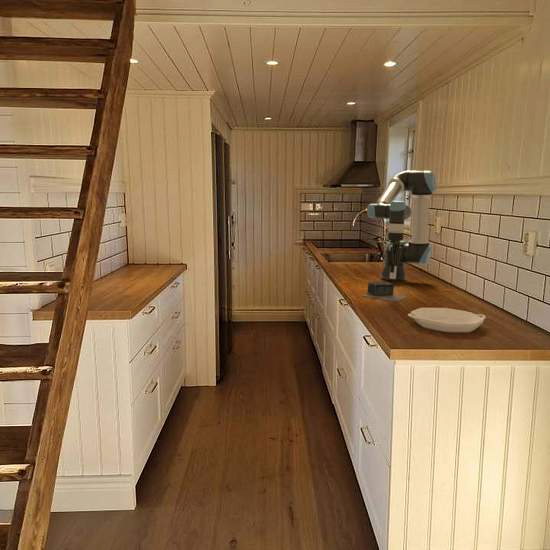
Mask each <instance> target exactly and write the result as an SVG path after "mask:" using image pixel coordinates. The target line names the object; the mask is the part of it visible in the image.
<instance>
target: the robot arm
mask: <svg viewBox="0 0 550 550" xmlns="http://www.w3.org/2000/svg"><path fill="white" fill-rule="evenodd" d="M436 189H437V180H436V175H435V173H434V171H432V170H405V171H401V172H399V173H397V174H396V175H394V176H392V177H391V178H390V179H389V181H388V183H387V186H386V188H385V190H384V191H383V192H382V194H381V195H380V197H379V198H378V200H377V201H376V203H369V204H368V205H367V209H366V214H367V217H368V218H369V219H379V220H381V219H384V220H388V224H387V226H388V228H387V229H388V233H387V240H389V241H387V243H386V244H385V253H384V254H385V255H384V266H383V267H382V268H383V269H382V271H381V274H380V279H381V280H386V281H392V282H393V281H395V282H397V281H399V282H401V281H402V282H403V281H406V280H407V273H406V270H405V264H415V265H427V264H428V263H429V261H430V260H431V257H432V252H433V245H431V244H430V241H429V240H428V225H429V224H428V223H429V209H430V207H429V206H430V198H431V197H432V196H433V193H435V192H436ZM403 192H411V193H410V195H411V197H412V198H413V207H412V208H413V209H412V208H411V206H409V205H407V203H406V201H403V200H396V199H397V197H398V196H399V195H400V194H402V193H403ZM410 217H412V224H411V238H410V239H409V240H408V243H407V240H404V235H405V234H404V232H405V220H408V219H409V218H410Z"/></svg>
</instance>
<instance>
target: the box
mask: <svg viewBox="0 0 550 550" xmlns="http://www.w3.org/2000/svg"><path fill="white" fill-rule="evenodd" d="M394 290H395V284H393V283H390V282H388V281H372V282H371V281H370V282H369V281H368V282H367V294H372V295H375V296H379V295H394Z"/></svg>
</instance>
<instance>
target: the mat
mask: <svg viewBox="0 0 550 550" xmlns="http://www.w3.org/2000/svg"><path fill="white" fill-rule="evenodd" d="M362 297H364V298H370V299H375V298H376V299H377V300H382V301H387V300H388V302H393V303H397V302H400V301H402V300H405V299H408V296H404V295H397V294H393V295H379V296H375V295H372V294H370V293H367V294H364V295H362ZM376 299H375V300H376Z"/></svg>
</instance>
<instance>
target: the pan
mask: <svg viewBox="0 0 550 550" xmlns="http://www.w3.org/2000/svg"><path fill="white" fill-rule="evenodd" d="M407 316H408V317H410V318H412V319H414V322H415V323H416V324H417V325H419V326H421V327H422V328H424V329H427V330H432V331H437V332H440V333H441V332H442V333H446V334H447V333H448V334H449V333H452V334H453V333H454V334H456V333H457V334H461V333H462V334H469V333H472V332H473V331H476V330H477V329H478V327H480V326H481V325H482V324H483V323H484V320H485V319H486V318H487V317H486V316H485V314H478V313H477V314H475V313H473V312H470V311H465V310H459V309H455V308H450V307H419V308H417V309H414V310H411V311H410V313H408V314H407Z"/></svg>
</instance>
